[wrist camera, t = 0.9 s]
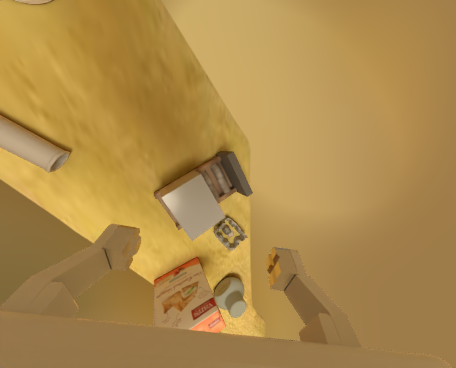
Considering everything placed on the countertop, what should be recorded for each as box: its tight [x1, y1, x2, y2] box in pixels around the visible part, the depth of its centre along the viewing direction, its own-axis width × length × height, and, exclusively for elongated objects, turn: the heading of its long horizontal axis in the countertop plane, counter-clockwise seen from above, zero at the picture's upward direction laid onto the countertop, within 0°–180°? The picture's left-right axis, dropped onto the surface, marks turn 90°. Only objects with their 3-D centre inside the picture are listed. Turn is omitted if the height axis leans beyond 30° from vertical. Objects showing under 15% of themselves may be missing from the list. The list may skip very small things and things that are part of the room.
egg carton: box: [214, 217, 247, 250], centre depth 56 cm, size 11×8×4 cm
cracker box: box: [154, 257, 226, 333], centre depth 44 cm, size 14×6×21 cm, turn 108°
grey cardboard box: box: [160, 170, 225, 241], centre depth 44 cm, size 10×13×8 cm
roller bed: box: [154, 152, 253, 230], centre depth 47 cm, size 22×13×9 cm, turn 118°
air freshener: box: [214, 277, 246, 318], centre depth 58 cm, size 11×8×10 cm
